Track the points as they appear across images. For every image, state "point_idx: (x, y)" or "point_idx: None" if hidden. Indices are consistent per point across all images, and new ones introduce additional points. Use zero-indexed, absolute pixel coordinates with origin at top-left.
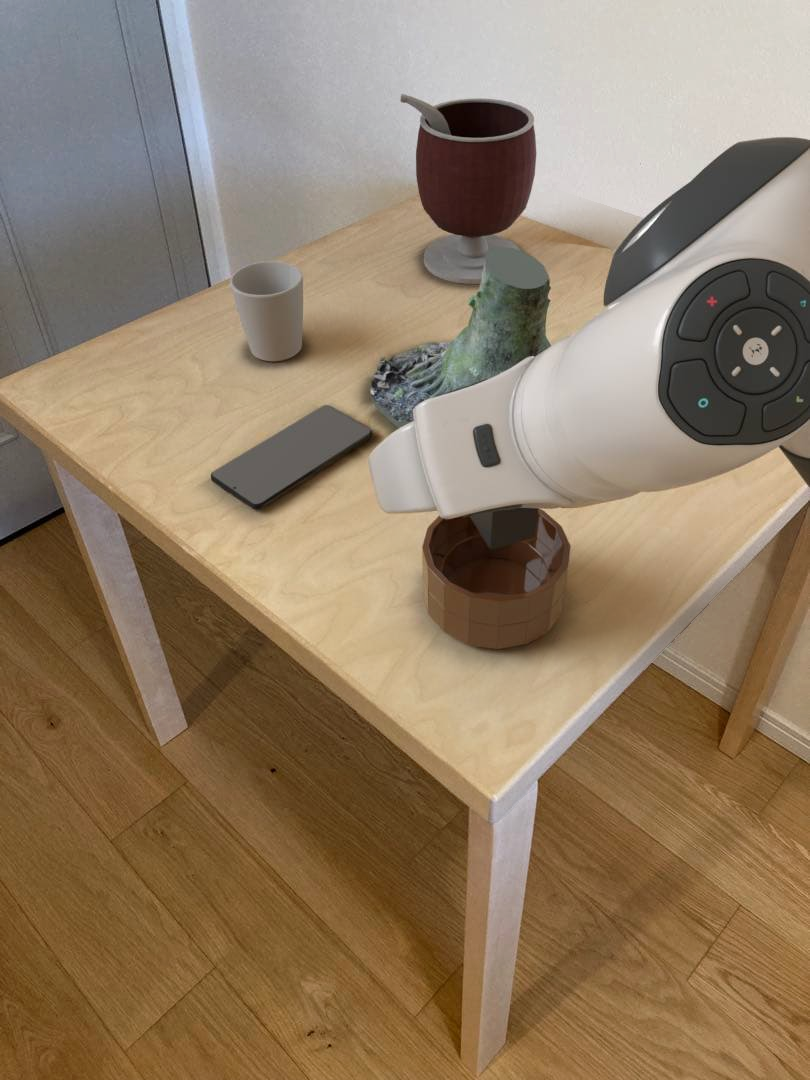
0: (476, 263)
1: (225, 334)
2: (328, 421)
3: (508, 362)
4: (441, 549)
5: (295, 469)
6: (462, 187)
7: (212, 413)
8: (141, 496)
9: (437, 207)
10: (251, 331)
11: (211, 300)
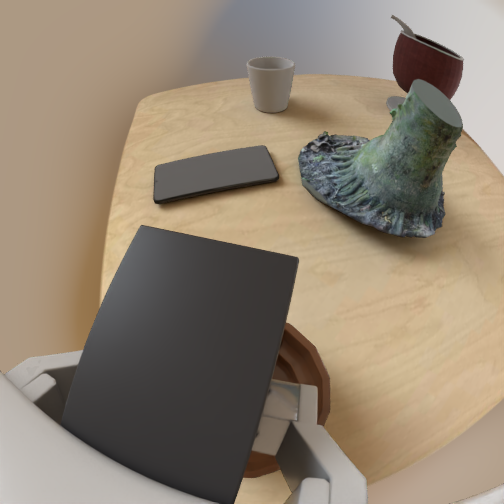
0: None
1: None
2: (255, 157)
3: (405, 176)
4: None
5: (200, 183)
6: (416, 66)
7: (202, 128)
8: (124, 166)
9: (399, 72)
10: (252, 89)
11: None
